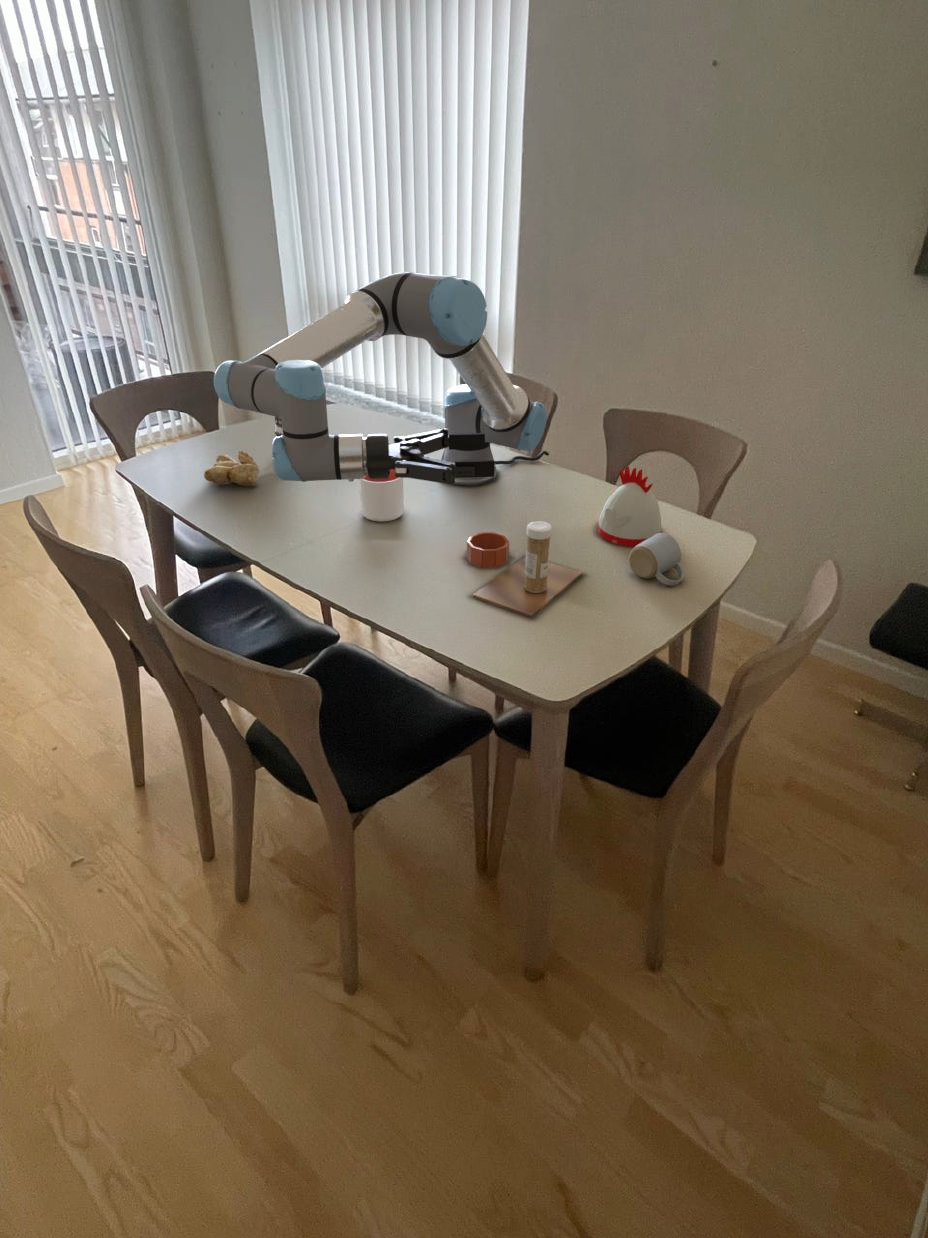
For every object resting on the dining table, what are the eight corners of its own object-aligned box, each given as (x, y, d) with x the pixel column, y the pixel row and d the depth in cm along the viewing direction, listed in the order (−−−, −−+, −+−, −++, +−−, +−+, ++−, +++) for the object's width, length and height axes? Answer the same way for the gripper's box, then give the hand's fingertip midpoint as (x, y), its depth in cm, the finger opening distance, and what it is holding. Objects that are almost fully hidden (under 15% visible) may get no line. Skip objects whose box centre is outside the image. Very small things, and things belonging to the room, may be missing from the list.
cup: (397, 525, 169) (395, 484, 163) (355, 521, 170) (352, 480, 165) (409, 507, 177) (407, 468, 172) (369, 504, 179) (366, 464, 173)
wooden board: (526, 557, 156) (526, 555, 156) (581, 575, 150) (582, 572, 150) (473, 597, 142) (473, 594, 142) (531, 618, 136) (531, 615, 136)
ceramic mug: (623, 572, 151) (628, 538, 147) (648, 559, 155) (654, 526, 151) (666, 593, 144) (673, 558, 140) (691, 579, 149) (698, 545, 145)
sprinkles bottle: (550, 592, 143) (555, 529, 135) (527, 595, 142) (531, 531, 134) (542, 581, 146) (547, 519, 139) (520, 583, 145) (524, 521, 138)
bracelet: (481, 545, 161) (481, 528, 159) (515, 556, 157) (516, 539, 154) (459, 560, 155) (459, 543, 153) (494, 571, 151) (494, 554, 149)
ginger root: (246, 493, 180) (235, 461, 177) (195, 499, 186) (184, 468, 183) (280, 473, 193) (271, 443, 189) (232, 479, 199) (221, 450, 195)
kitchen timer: (621, 514, 175) (629, 452, 167) (672, 532, 167) (683, 469, 159) (585, 531, 167) (591, 468, 159) (636, 552, 158) (646, 486, 150)
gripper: (368, 452, 139) (480, 450, 141) (366, 506, 118) (497, 502, 120) (366, 413, 135) (481, 410, 137) (363, 461, 114) (499, 458, 116)
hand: (489, 453), depth 129 cm, fingers open, 13 cm apart
